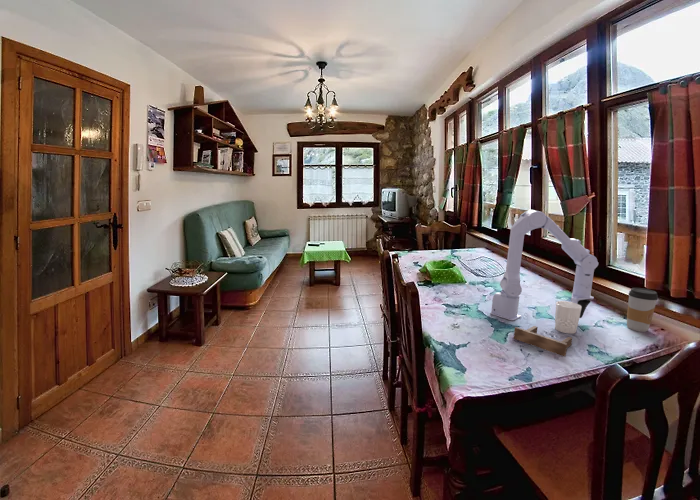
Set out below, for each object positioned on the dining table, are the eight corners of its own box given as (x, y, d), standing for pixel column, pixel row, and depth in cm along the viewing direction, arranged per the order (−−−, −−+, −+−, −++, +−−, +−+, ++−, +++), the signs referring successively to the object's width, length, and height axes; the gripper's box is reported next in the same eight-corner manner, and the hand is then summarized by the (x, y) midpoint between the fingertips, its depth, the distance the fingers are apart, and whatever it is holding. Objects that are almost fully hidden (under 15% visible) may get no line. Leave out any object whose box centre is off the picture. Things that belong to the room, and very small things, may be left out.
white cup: (553, 324, 131) (556, 299, 129) (578, 329, 126) (581, 303, 124) (552, 330, 124) (555, 305, 122) (577, 336, 120) (581, 309, 118)
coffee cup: (645, 334, 122) (652, 295, 119) (618, 326, 129) (624, 289, 126) (655, 330, 126) (663, 292, 123) (629, 322, 133) (635, 286, 130)
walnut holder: (513, 338, 117) (514, 327, 116) (528, 330, 124) (529, 320, 123) (564, 356, 105) (565, 344, 104) (577, 346, 112) (579, 335, 111)
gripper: (588, 289, 122) (583, 324, 125) (601, 283, 131) (596, 316, 133) (566, 285, 128) (562, 318, 130) (580, 279, 136) (576, 310, 139)
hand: (578, 317), depth 132 cm, fingers closed
